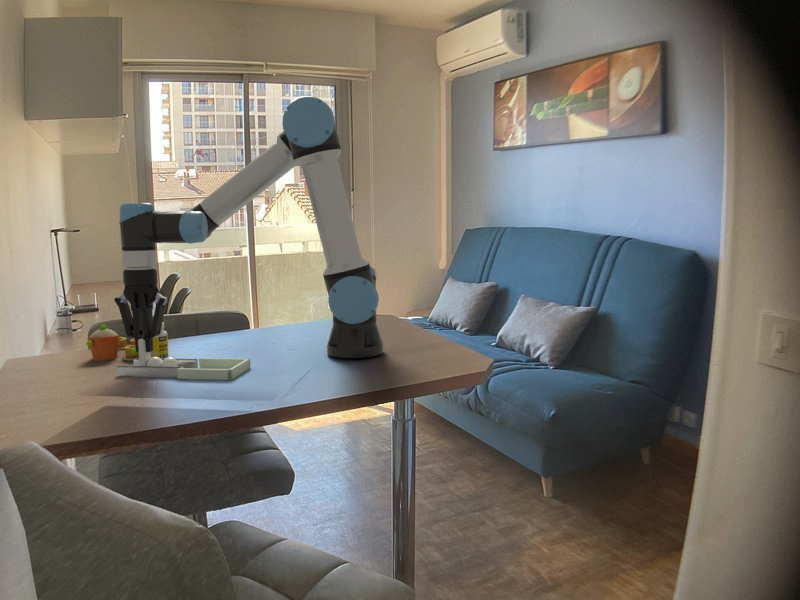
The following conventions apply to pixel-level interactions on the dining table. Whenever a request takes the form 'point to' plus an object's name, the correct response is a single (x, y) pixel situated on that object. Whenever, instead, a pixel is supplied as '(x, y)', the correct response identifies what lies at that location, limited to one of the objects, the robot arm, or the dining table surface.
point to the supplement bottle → (160, 344)
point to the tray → (215, 369)
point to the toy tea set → (110, 345)
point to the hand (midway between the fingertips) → (145, 365)
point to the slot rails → (155, 369)
